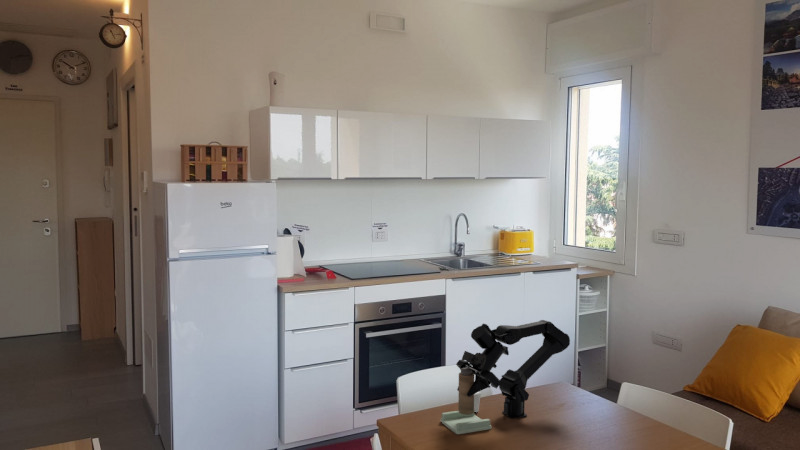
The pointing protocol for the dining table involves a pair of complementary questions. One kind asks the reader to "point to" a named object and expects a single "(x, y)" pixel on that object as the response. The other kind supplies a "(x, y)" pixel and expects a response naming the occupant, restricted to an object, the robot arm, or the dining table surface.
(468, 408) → the pepper mill
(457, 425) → the tray
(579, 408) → the dining table surface
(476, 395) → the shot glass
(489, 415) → the dining table surface
